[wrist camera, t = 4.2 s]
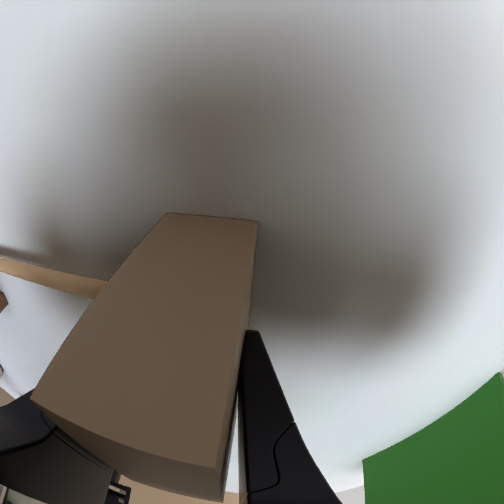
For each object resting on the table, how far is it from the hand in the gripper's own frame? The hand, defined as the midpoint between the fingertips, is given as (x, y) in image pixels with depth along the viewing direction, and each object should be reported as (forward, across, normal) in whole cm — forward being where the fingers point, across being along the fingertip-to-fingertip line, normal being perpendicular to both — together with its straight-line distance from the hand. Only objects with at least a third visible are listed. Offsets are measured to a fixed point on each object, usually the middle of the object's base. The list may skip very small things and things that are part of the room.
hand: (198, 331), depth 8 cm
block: (+2, +11, 0) cm, 11 cm away
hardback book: (+2, -22, +16) cm, 27 cm away
